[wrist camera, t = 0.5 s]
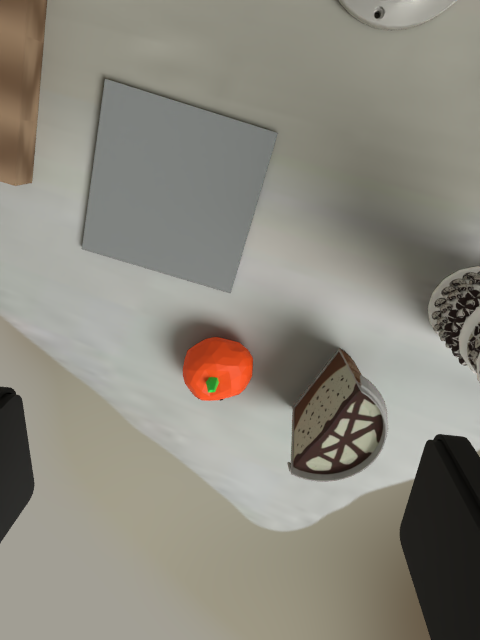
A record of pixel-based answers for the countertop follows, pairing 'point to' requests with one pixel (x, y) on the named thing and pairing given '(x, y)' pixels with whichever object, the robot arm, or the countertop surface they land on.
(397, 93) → the countertop surface
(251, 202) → the grey mat
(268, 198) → the countertop surface
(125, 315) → the countertop surface
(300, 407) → the food container
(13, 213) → the countertop surface
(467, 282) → the decorative candle
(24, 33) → the walnut cradle
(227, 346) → the pumpkin
